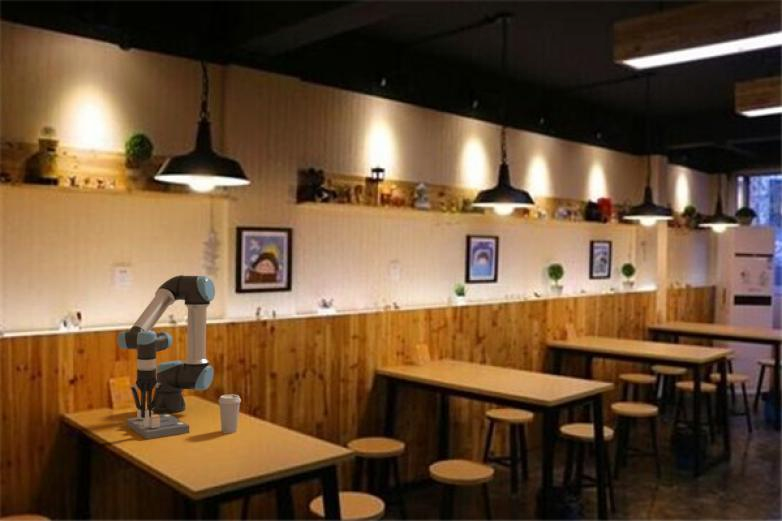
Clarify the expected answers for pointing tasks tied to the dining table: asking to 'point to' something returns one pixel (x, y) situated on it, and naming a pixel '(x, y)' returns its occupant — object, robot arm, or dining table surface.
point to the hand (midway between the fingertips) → (146, 425)
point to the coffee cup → (229, 412)
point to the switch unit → (167, 427)
